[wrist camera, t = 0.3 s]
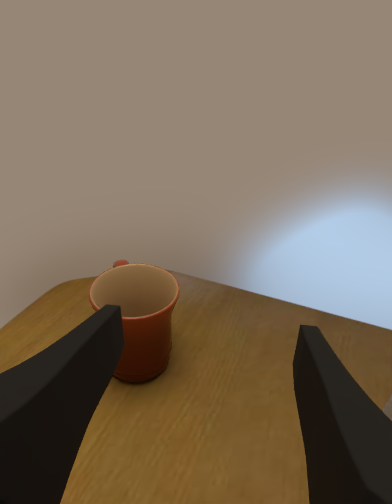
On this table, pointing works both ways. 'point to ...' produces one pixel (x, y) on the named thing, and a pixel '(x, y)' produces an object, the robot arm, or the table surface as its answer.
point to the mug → (139, 315)
